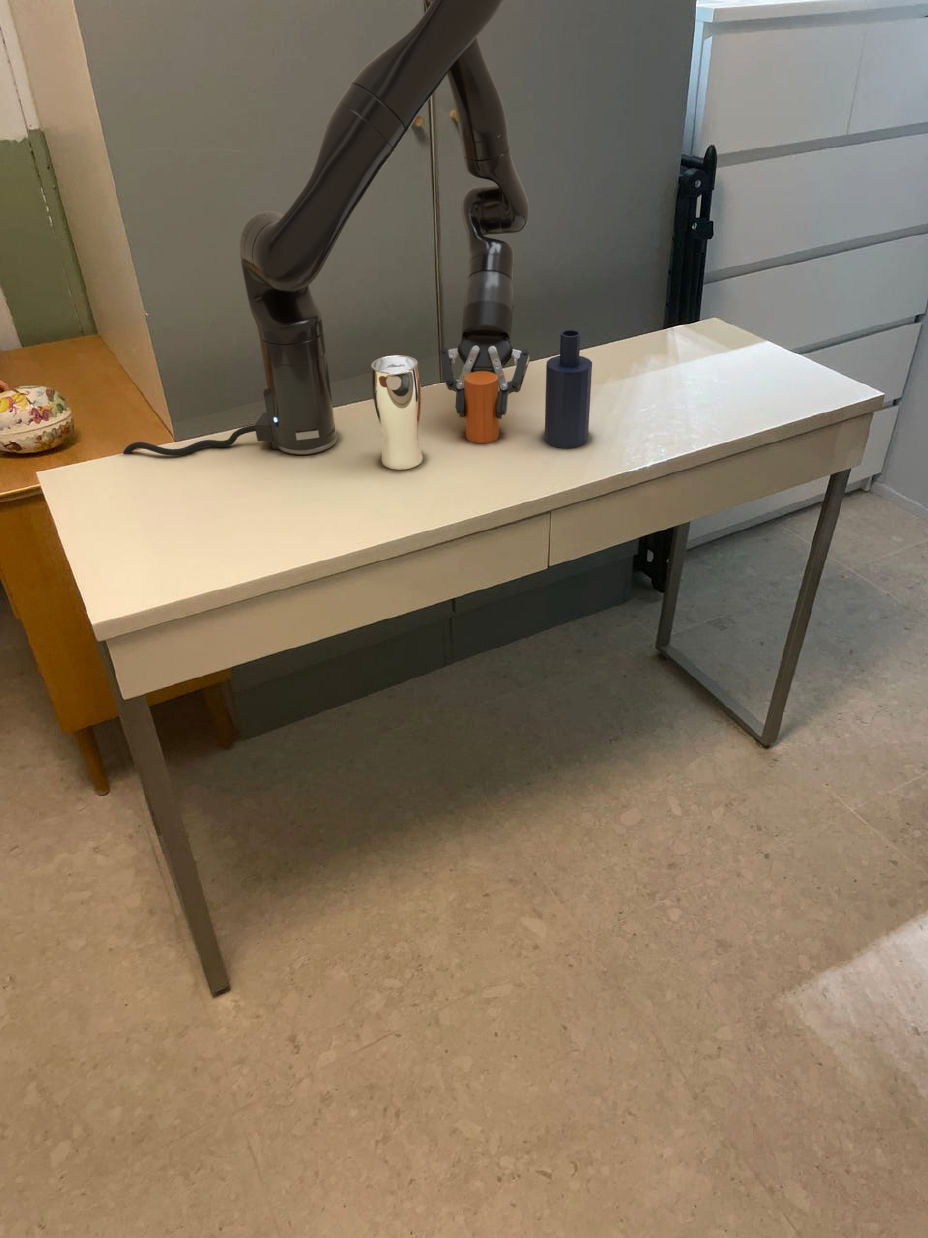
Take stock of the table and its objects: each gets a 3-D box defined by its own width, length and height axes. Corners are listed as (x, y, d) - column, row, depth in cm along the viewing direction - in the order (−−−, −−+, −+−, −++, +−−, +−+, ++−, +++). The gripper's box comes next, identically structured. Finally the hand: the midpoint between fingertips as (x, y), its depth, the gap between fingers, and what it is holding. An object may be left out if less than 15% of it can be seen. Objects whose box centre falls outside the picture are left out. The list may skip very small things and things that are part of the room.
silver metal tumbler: (419, 473, 136) (412, 374, 127) (373, 469, 137) (363, 372, 128) (430, 451, 141) (424, 355, 132) (385, 448, 142) (377, 353, 133)
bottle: (543, 447, 141) (546, 341, 131) (546, 428, 146) (548, 324, 136) (587, 448, 140) (593, 341, 130) (588, 429, 146) (594, 325, 136)
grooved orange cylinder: (464, 442, 143) (462, 383, 137) (468, 428, 147) (466, 370, 141) (496, 443, 143) (496, 384, 137) (500, 429, 147) (499, 371, 141)
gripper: (438, 297, 140) (430, 406, 138) (533, 298, 139) (526, 408, 136) (445, 320, 148) (437, 423, 145) (535, 321, 146) (529, 426, 144)
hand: (480, 415), depth 141 cm, fingers closed on grooved orange cylinder, 5 cm apart
